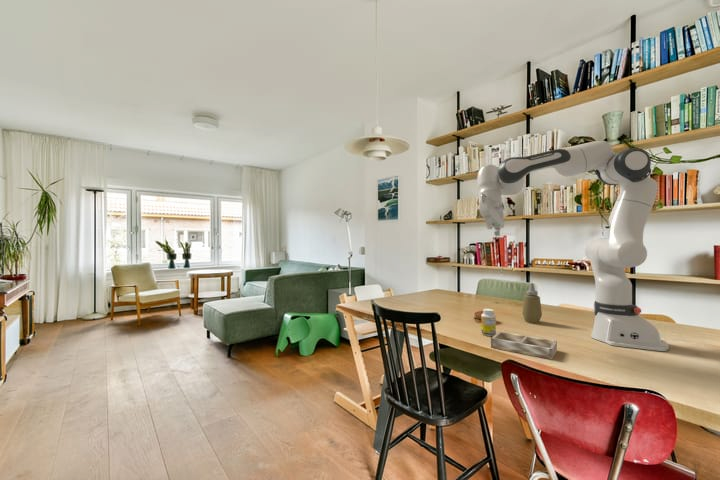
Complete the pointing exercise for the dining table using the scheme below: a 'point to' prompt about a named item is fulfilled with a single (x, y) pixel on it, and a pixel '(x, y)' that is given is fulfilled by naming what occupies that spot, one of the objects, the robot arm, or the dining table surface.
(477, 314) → the burger
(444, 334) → the dining table surface
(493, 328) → the supplement bottle
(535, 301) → the squeeze bottle
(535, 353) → the grey divided wooden tray
